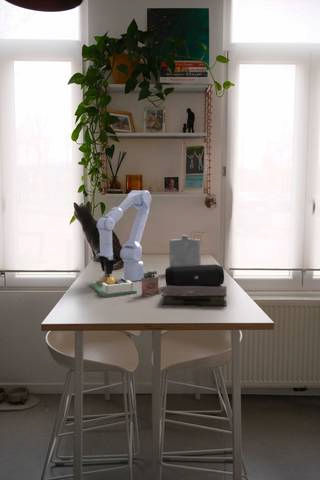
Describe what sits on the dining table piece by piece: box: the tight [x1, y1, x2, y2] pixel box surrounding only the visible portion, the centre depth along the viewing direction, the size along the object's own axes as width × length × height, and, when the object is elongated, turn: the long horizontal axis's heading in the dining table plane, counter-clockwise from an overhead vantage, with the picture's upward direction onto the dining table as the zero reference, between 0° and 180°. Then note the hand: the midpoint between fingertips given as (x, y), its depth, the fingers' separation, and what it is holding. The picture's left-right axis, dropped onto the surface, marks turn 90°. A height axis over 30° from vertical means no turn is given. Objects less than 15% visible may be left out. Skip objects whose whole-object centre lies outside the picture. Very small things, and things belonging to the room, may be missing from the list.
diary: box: [161, 285, 228, 308], centre depth 188 cm, size 19×25×5 cm
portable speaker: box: [164, 264, 225, 287], centre depth 211 cm, size 26×10×10 cm, turn 96°
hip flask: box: [168, 234, 202, 267], centre depth 240 cm, size 16×4×20 cm, turn 85°
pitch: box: [89, 278, 138, 298], centre depth 209 cm, size 15×23×2 cm, turn 22°
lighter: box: [140, 270, 160, 297], centre depth 198 cm, size 8×3×10 cm, turn 118°
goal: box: [102, 280, 134, 294], centre depth 202 cm, size 12×6×4 cm, turn 112°
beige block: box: [99, 266, 116, 284], centre depth 216 cm, size 6×5×8 cm
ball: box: [106, 277, 116, 285], centre depth 211 cm, size 4×4×4 cm
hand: (107, 272), depth 216 cm, fingers open, 7 cm apart
